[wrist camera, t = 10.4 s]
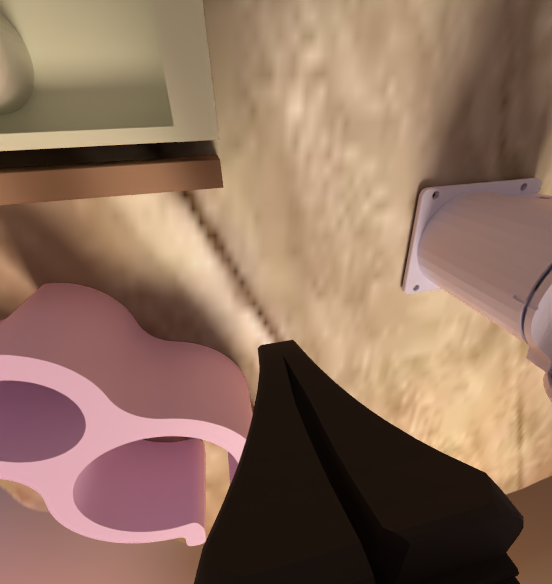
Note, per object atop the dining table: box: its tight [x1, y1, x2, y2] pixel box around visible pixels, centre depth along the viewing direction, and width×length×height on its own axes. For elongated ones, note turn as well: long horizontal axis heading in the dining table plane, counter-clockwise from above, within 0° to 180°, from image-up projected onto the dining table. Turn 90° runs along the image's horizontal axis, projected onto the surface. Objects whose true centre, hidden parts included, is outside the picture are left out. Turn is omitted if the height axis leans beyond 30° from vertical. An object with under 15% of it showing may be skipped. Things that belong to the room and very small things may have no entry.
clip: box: [0, 283, 253, 546], centre depth 20 cm, size 20×12×7 cm, turn 35°
